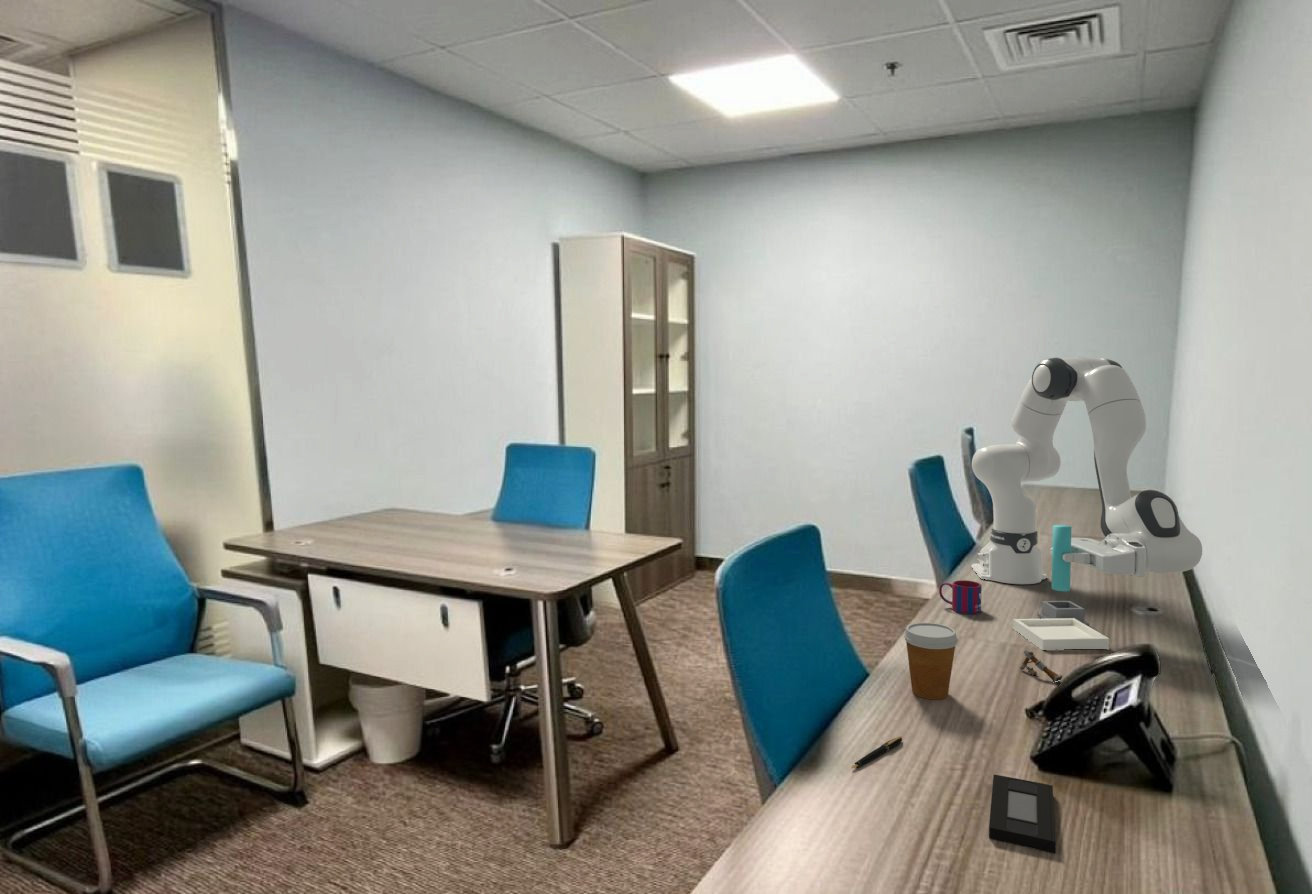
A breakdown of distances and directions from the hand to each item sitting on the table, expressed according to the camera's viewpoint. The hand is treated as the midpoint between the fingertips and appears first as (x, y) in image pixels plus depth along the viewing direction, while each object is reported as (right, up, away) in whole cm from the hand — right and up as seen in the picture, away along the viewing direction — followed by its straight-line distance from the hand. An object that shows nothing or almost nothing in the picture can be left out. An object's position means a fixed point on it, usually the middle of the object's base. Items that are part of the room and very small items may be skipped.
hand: (1057, 554), depth 167 cm
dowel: (+1, -8, +1) cm, 8 cm away
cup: (-11, -17, +25) cm, 32 cm away
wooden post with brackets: (-14, -21, -19) cm, 32 cm away
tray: (+1, -19, +2) cm, 19 cm away
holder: (+8, -18, +13) cm, 24 cm away
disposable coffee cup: (-37, -22, -26) cm, 50 cm away
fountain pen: (-54, -25, -49) cm, 76 cm away
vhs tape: (-39, -26, -66) cm, 81 cm away
